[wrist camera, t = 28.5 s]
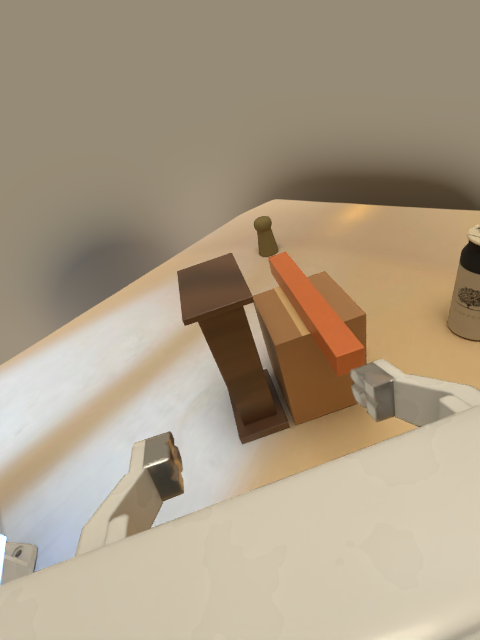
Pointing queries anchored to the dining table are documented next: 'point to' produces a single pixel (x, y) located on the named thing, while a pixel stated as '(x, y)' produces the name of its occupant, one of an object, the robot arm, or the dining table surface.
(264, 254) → the olive game pawn
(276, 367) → the carton
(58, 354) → the dining table surface
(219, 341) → the stand
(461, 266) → the travel mug
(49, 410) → the dining table surface
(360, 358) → the bar
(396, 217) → the dining table surface
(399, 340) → the dining table surface
